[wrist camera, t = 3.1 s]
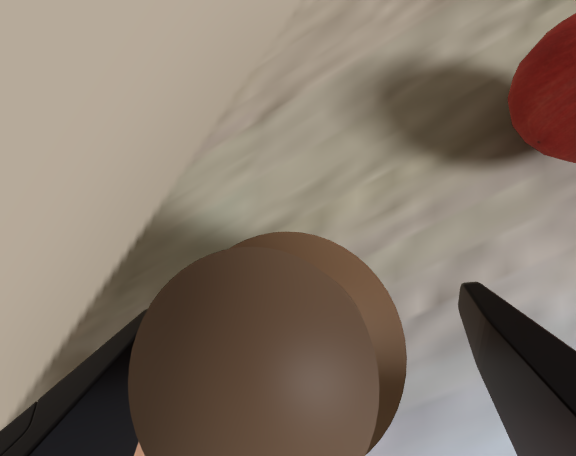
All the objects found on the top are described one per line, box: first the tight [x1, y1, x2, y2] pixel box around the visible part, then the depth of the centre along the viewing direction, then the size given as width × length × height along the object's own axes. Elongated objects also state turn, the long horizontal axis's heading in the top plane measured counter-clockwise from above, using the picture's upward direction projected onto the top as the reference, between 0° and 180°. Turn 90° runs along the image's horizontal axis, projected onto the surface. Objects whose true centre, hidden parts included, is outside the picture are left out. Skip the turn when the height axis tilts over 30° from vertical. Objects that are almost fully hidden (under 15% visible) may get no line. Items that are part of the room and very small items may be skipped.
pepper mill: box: [128, 232, 407, 456], centre depth 11 cm, size 5×5×12 cm
